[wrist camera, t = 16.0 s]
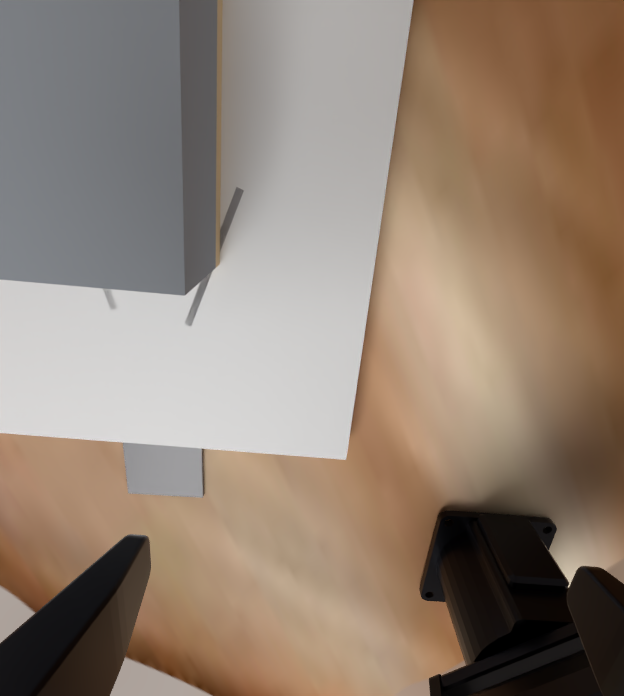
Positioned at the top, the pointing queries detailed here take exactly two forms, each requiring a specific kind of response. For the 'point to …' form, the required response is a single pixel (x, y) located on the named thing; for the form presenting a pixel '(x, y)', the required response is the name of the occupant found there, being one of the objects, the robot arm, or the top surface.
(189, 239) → the block
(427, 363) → the top surface
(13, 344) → the board
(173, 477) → the graphite chip
